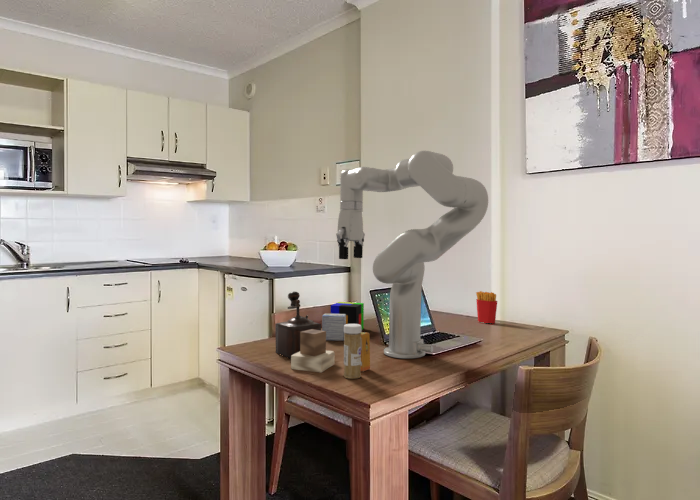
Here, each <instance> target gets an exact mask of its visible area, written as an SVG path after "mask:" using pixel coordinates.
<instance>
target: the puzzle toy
mask: <svg viewBox="0 0 700 500" xmlns="http://www.w3.org/2000/svg"><path fill="white" fill-rule="evenodd" d="M364 305H365V302H364V303H363V302H348V301H347V302H346V301H337V302H336V303H334V304H331V305H330V314H346V324H360V325H361V327H362V330H364V322H365V320H364V318H365V317H364V313H365V309H364V307H365V306H364Z"/></svg>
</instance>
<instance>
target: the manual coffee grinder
mask: <svg viewBox="0 0 700 500" xmlns="http://www.w3.org/2000/svg"><path fill="white" fill-rule="evenodd" d="M300 297H301V296H300V293H299V292H298V291H291V292H289V293H288V294H287V299H288V300H289V301H290V306H287V310H294V309H295V311H296V314H295V316H293V317H292V318H289V319H288V320H287V321H283V322H277V323H275V325H274V326H275V331H274V332H275V334H274V335H275V354H277V353H278V354H277V355H279V354H281V355H280V356H282V355H283V356H282V357H284V356H285V358H287V357H288V359H291V355H293V354H295V353H297V352H299V351H300V332H302V331H306V330H310V329H314V330H321V331H322V323H318V322H315V321H314V320H312V319H309V315H308V314H307V315H306V316H305V317H304V316H302V315H301V314H300V307H301V304H300V303H301V301H300V299H299V298H300Z"/></svg>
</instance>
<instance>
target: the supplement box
mask: <svg viewBox="0 0 700 500" xmlns="http://www.w3.org/2000/svg"><path fill="white" fill-rule="evenodd" d="M370 341H371V340H370V333H369V332H365V331H364V332H363V331H362V332H361V365H360V366H361V368H360V369H361V370H360V371H361V372H363V373H364V372H366V371H368V370H371V347H370V346H371V344H370V343H371V342H370Z"/></svg>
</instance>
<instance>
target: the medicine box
mask: <svg viewBox="0 0 700 500" xmlns="http://www.w3.org/2000/svg"><path fill="white" fill-rule="evenodd" d="M321 320H322V321H321V331H326V341H340V342H344V325H345V324H346V314H331V313H324V314H322V316H321Z"/></svg>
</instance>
